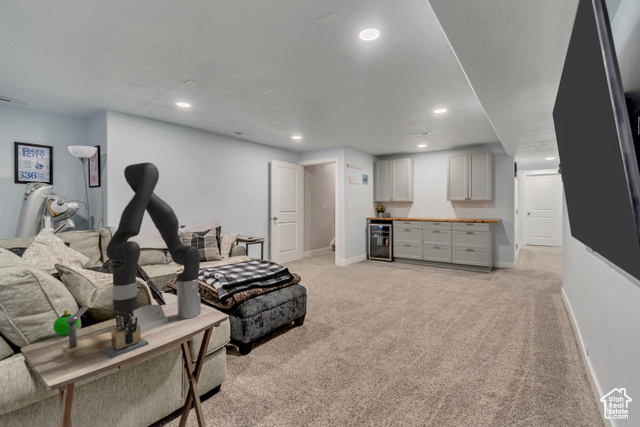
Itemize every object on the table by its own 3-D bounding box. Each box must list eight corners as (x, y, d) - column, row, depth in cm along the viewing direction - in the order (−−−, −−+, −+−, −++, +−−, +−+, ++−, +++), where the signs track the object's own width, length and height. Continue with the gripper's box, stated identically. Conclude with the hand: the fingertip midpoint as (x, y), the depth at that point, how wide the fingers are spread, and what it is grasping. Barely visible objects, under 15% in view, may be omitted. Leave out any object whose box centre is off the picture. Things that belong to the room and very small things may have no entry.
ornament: (82, 333, 122) (81, 309, 122) (57, 341, 116) (56, 315, 115) (75, 329, 127) (74, 305, 127) (50, 336, 120) (49, 311, 120)
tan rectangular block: (136, 338, 113) (135, 322, 113) (140, 341, 111) (140, 325, 111) (111, 347, 107) (111, 330, 106) (116, 350, 104) (115, 332, 104)
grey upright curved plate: (132, 336, 119) (126, 312, 120) (125, 338, 121) (119, 314, 122) (169, 321, 134) (163, 299, 135) (162, 323, 136) (156, 302, 137)
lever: (75, 322, 103) (75, 318, 103) (65, 324, 102) (64, 319, 102) (90, 308, 117) (90, 304, 117) (81, 309, 116) (80, 305, 116)
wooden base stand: (123, 335, 120) (122, 306, 120) (131, 340, 116) (130, 310, 115) (62, 354, 105) (61, 322, 104) (69, 361, 100) (68, 327, 100)
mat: (140, 339, 116) (140, 337, 116) (148, 344, 112) (148, 341, 112) (103, 352, 106) (103, 349, 106) (111, 357, 102) (111, 355, 102)
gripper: (145, 296, 107) (146, 343, 108) (128, 290, 115) (129, 333, 116) (121, 301, 101) (123, 351, 102) (105, 295, 109) (107, 340, 110)
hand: (126, 341), depth 109 cm, fingers closed on tan rectangular block, 4 cm apart
